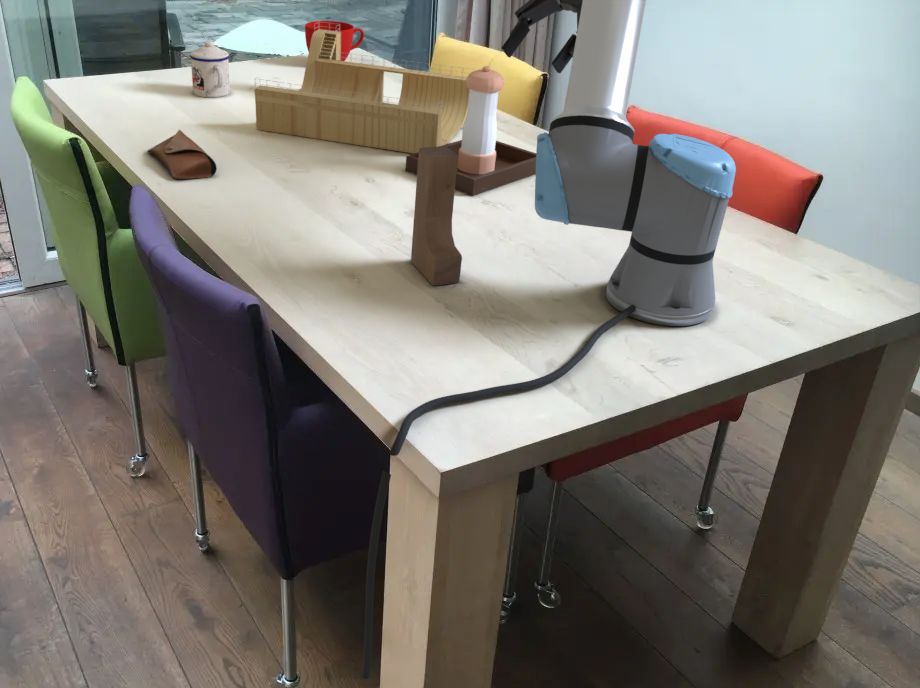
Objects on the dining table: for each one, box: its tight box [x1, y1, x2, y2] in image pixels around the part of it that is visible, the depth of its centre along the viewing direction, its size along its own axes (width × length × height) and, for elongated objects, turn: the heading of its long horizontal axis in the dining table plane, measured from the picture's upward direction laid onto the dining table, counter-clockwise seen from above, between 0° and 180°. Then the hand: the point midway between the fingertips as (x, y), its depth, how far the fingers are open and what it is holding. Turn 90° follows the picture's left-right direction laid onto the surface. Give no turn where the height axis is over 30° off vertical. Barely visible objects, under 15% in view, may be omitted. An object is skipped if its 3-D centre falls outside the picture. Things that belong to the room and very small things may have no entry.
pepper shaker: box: [457, 65, 505, 174], centre depth 172 cm, size 7×7×19 cm
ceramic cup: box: [304, 20, 365, 61], centre depth 243 cm, size 13×17×10 cm
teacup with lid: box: [189, 40, 231, 99], centre depth 211 cm, size 12×9×12 cm
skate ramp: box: [253, 22, 476, 154], centre depth 198 cm, size 40×35×16 cm
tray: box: [404, 139, 536, 197], centre depth 176 cm, size 22×17×3 cm
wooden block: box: [410, 146, 463, 286], centre depth 132 cm, size 9×4×18 cm, turn 20°
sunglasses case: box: [147, 129, 218, 180], centre depth 172 cm, size 18×7×7 cm
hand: (529, 60), depth 171 cm, fingers open, 13 cm apart
